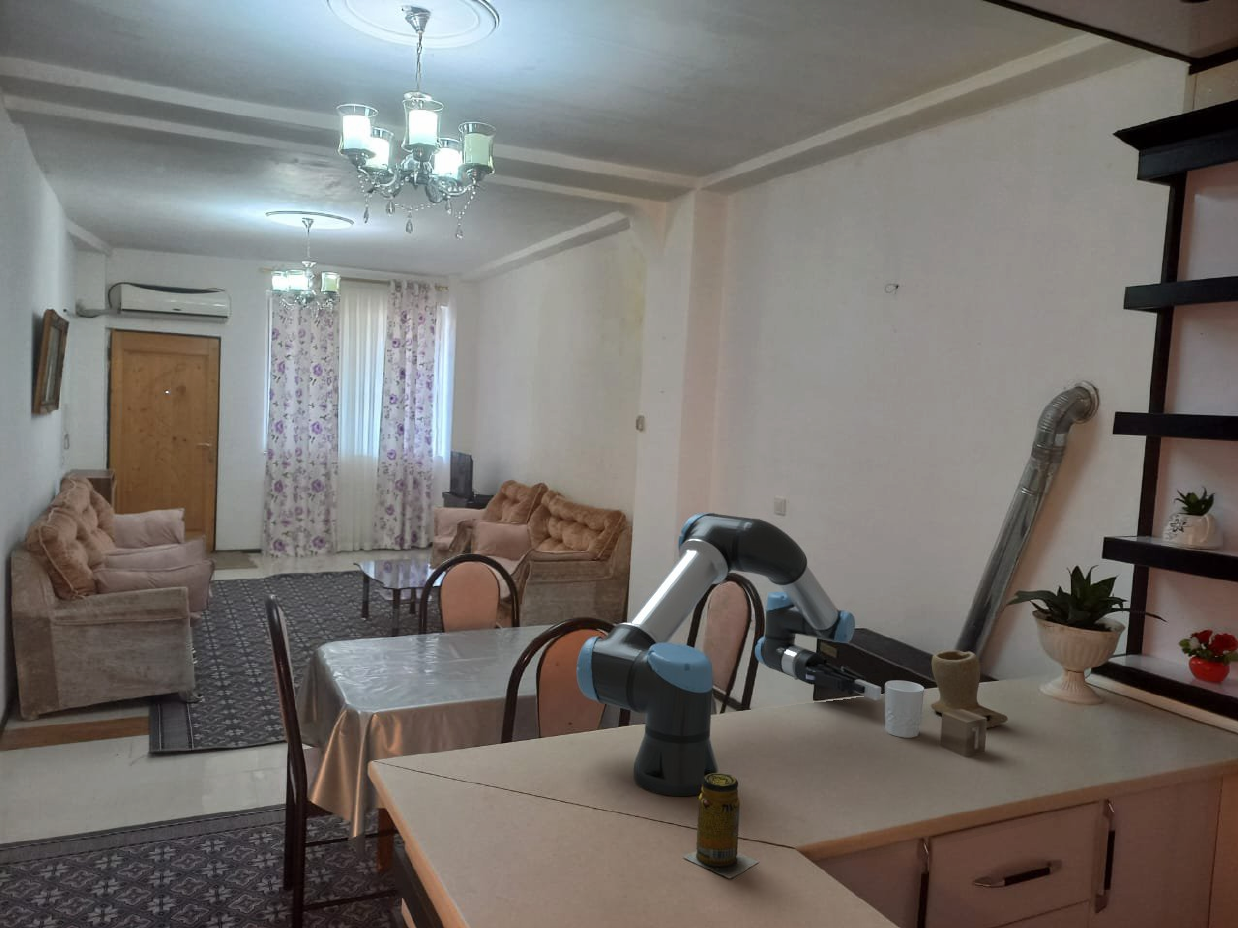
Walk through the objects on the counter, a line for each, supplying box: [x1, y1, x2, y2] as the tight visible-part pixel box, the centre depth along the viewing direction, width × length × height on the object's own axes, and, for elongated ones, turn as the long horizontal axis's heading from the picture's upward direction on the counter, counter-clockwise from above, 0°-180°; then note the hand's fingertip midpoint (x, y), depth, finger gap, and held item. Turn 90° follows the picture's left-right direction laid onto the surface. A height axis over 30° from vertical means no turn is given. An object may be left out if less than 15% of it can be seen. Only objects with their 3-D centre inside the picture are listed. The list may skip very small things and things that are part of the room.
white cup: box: [884, 679, 925, 739], centre depth 188 cm, size 8×8×10 cm
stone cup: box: [930, 649, 1009, 729], centre depth 198 cm, size 15×12×15 cm
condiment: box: [683, 772, 759, 879], centre depth 131 cm, size 7×8×12 cm
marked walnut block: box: [939, 709, 987, 758], centre depth 180 cm, size 6×6×7 cm
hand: (878, 693), depth 194 cm, fingers closed
